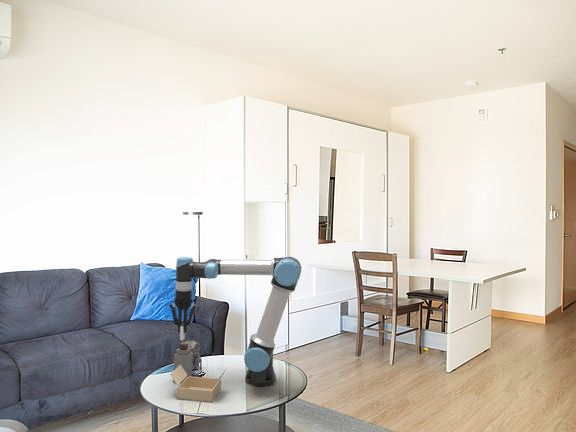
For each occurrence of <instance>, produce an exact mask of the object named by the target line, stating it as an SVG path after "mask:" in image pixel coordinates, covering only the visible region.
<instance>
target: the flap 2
mask: <svg viewBox="0 0 576 432" xmlns="http://www.w3.org/2000/svg"><path fill="white" fill-rule="evenodd" d="M227 369H228V367H226V368H225V370H224V371H222V372H221V374H220V376H219V377H218V378H217V379H218V380H217V382H216V383H215V385H216V384H217V383H218V381H219V380H220V379H221V380H222V377H223V375H224V374H225V373H226V371H227ZM215 385H214V386H213V388H214V387H215Z"/></svg>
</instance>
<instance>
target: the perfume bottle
mask: <svg viewBox="0 0 576 432" xmlns="http://www.w3.org/2000/svg"><path fill="white" fill-rule="evenodd" d="M181 343H182V342H181ZM181 343H180V344H179V346H178V347H180V348H177V349H176V353H174V354H173V371H174V370H175V369H176V368H177V367H178V366H179V365H181V366H182V367H183V369H184V370H185V372H186V373H187V376H186V377H185V378H184V379H183V380H182V381H181V382H180V383H179V385H180V384H181V383H182V382H183V381H184V380H185V379H186V378H187V377H188V376H192V377H193V370H192V359H193V352H190V350H191V348H188V344H186V343H182V344H181ZM173 371H172V372H173ZM172 383H174V384H176V383H175V381H174V380H173V379H172Z"/></svg>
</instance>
